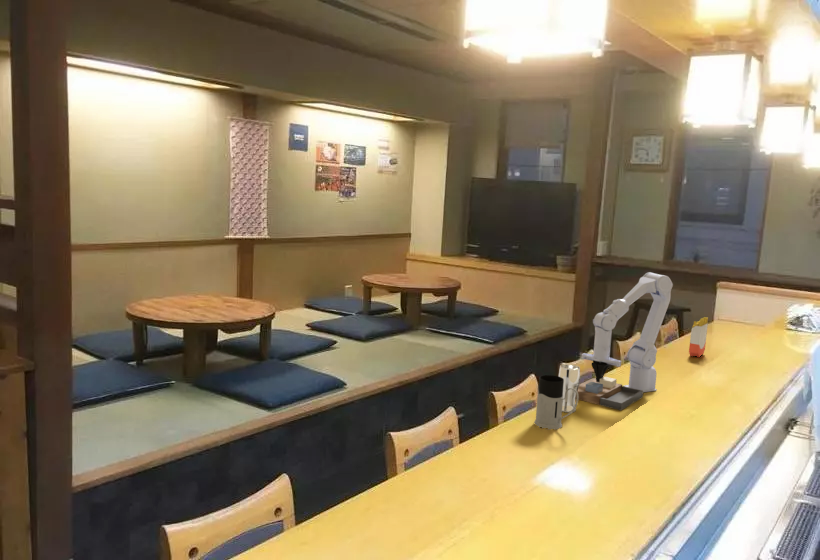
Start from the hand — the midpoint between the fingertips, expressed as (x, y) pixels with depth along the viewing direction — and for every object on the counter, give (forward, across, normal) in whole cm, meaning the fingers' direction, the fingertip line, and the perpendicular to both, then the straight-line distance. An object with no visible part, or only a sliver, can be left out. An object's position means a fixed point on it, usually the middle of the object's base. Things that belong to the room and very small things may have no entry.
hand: (599, 381), depth 253 cm
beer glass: (+4, +1, -28) cm, 28 cm away
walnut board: (+4, +1, -4) cm, 6 cm away
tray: (+4, +11, -4) cm, 12 cm away
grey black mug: (+4, +6, -46) cm, 46 cm away
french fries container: (+4, +9, +88) cm, 88 cm away
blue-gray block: (+1, +3, -10) cm, 10 cm away
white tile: (+1, +3, 0) cm, 3 cm away
